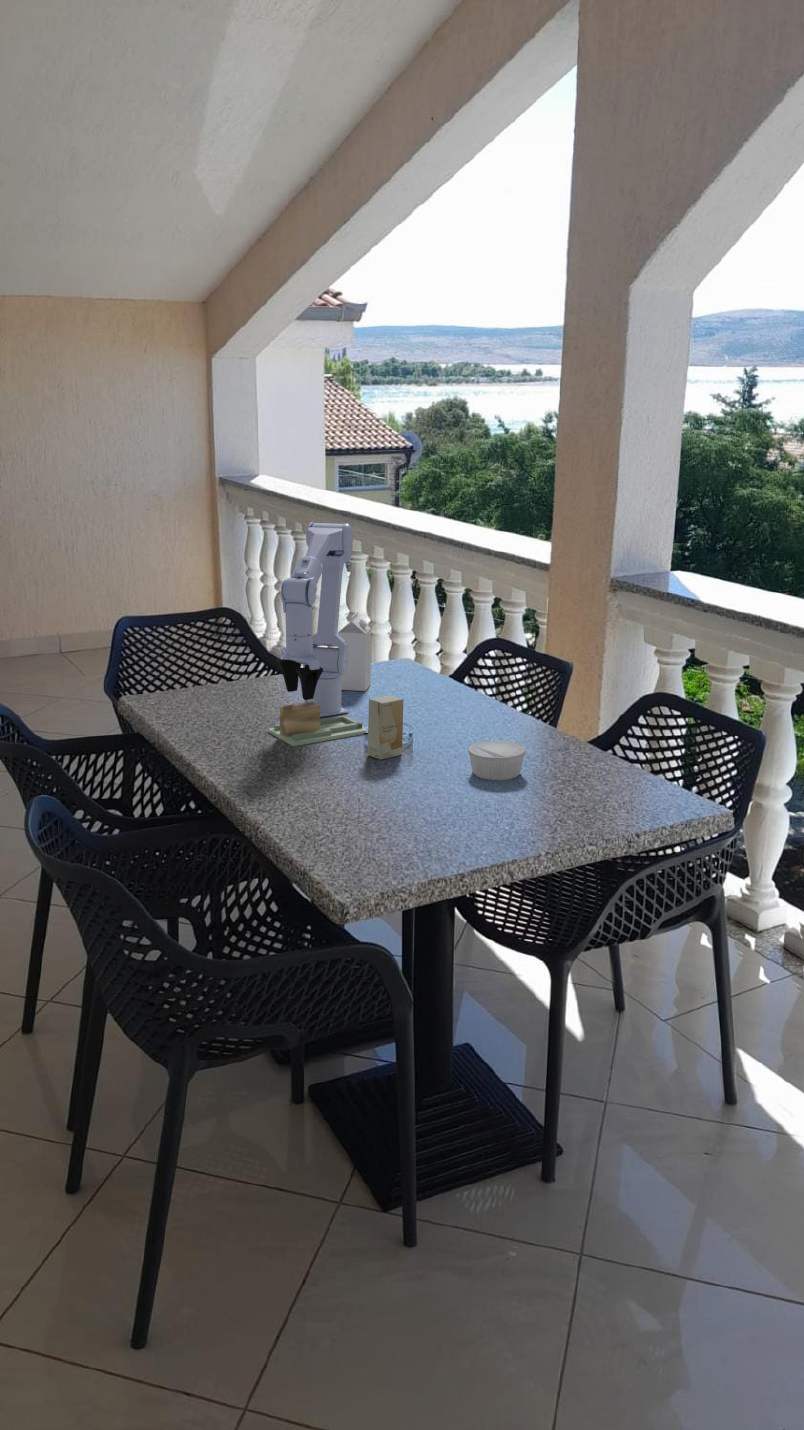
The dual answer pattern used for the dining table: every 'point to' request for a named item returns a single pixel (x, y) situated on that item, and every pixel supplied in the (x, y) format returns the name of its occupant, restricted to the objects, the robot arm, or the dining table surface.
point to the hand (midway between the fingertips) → (300, 695)
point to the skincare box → (385, 727)
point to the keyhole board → (323, 731)
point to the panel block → (299, 718)
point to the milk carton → (357, 654)
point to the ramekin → (496, 759)
